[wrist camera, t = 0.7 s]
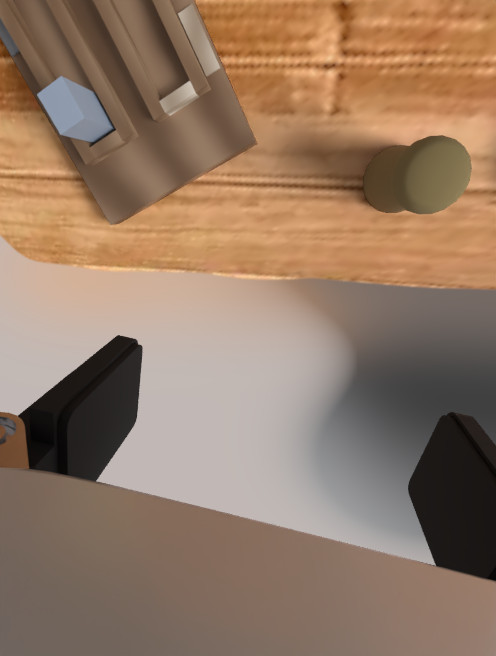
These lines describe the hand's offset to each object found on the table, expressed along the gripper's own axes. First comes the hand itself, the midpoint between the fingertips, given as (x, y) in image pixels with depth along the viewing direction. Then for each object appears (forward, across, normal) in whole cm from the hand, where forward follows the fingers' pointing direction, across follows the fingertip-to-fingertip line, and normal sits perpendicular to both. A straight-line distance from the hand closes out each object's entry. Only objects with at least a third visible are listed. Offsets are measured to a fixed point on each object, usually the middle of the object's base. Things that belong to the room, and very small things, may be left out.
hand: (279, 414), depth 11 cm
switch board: (+29, +21, -16) cm, 39 cm away
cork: (+29, -8, -9) cm, 32 cm away
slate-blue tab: (+27, +21, -9) cm, 35 cm away
